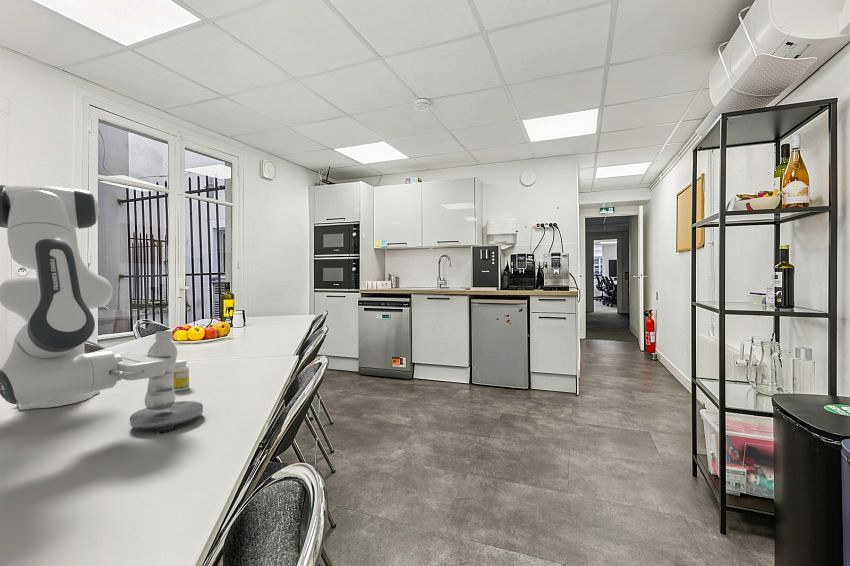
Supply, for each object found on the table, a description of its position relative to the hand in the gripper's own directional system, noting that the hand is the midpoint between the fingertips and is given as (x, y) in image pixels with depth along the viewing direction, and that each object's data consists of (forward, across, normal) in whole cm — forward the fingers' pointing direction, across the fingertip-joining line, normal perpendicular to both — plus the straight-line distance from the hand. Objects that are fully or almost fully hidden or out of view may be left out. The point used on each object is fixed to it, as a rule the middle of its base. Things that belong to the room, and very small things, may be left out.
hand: (165, 359), depth 102 cm
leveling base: (0, 0, +17) cm, 17 cm away
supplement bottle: (+18, +29, +17) cm, 38 cm away
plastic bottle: (-2, 0, +13) cm, 13 cm away
